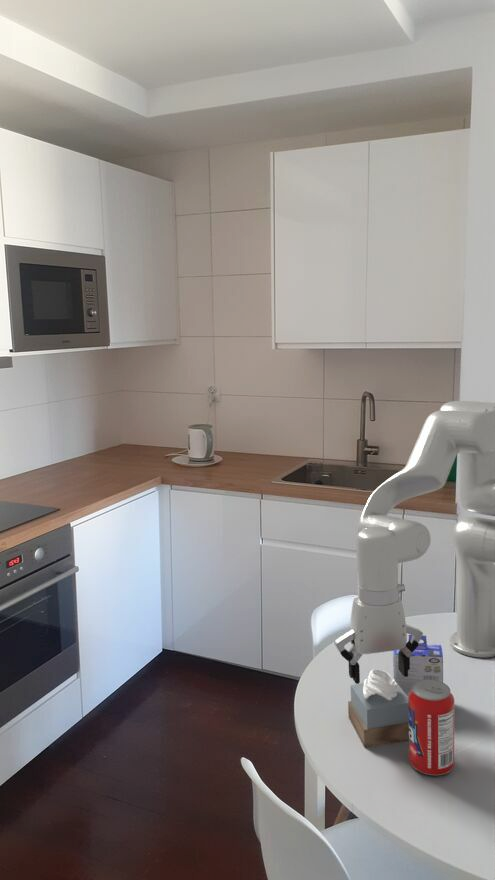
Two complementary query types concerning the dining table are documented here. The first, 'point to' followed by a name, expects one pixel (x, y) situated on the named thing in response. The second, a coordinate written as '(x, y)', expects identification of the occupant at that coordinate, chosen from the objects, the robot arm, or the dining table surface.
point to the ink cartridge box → (420, 665)
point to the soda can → (431, 727)
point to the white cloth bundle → (380, 684)
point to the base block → (378, 731)
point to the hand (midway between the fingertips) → (379, 676)
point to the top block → (380, 707)
